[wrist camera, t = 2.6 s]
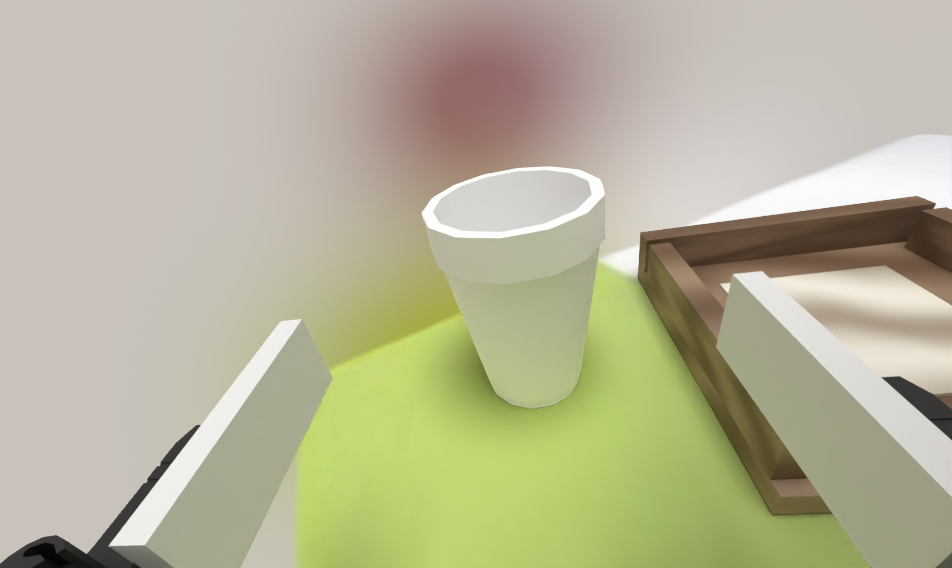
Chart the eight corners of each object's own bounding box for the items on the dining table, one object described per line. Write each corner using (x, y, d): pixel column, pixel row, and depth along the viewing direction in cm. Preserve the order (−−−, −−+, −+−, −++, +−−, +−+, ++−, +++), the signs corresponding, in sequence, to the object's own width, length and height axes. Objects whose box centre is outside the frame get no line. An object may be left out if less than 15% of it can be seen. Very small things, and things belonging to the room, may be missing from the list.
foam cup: (631, 364, 26) (642, 177, 19) (543, 459, 21) (516, 258, 14) (526, 314, 33) (506, 161, 26) (442, 378, 28) (389, 214, 21)
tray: (1344, 495, 15) (1490, 419, 12) (772, 514, 17) (799, 455, 15) (892, 248, 31) (916, 195, 29) (637, 278, 34) (640, 232, 32)
